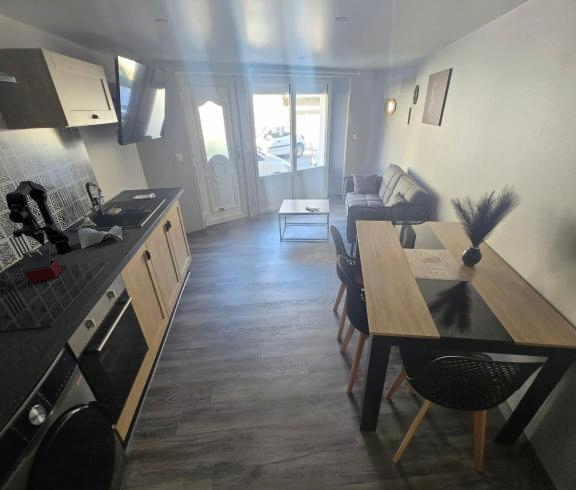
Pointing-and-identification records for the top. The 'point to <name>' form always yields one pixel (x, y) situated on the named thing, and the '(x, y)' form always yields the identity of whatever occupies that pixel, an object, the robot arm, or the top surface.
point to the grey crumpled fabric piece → (97, 235)
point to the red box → (44, 272)
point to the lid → (36, 259)
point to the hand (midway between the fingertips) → (43, 245)
